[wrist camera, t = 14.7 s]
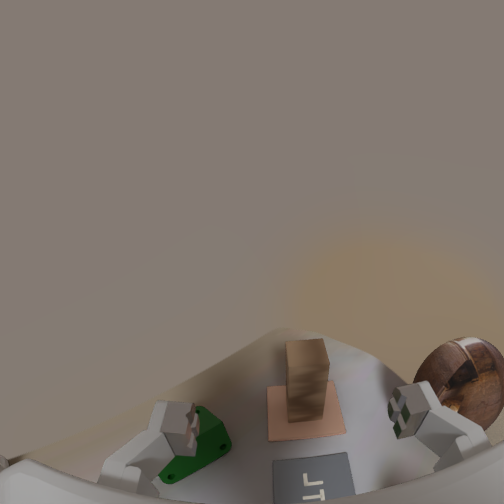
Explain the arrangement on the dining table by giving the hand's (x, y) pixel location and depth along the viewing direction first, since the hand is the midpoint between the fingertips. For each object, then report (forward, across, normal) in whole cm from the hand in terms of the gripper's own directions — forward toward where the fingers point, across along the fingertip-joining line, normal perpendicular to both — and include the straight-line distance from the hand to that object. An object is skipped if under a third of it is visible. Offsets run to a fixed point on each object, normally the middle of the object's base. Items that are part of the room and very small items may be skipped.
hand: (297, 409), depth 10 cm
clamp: (+13, +12, +29) cm, 34 cm away
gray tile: (+7, -4, +28) cm, 29 cm away
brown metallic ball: (+13, -25, +28) cm, 40 cm away
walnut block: (+21, -4, +28) cm, 35 cm away
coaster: (+21, -4, +28) cm, 35 cm away
